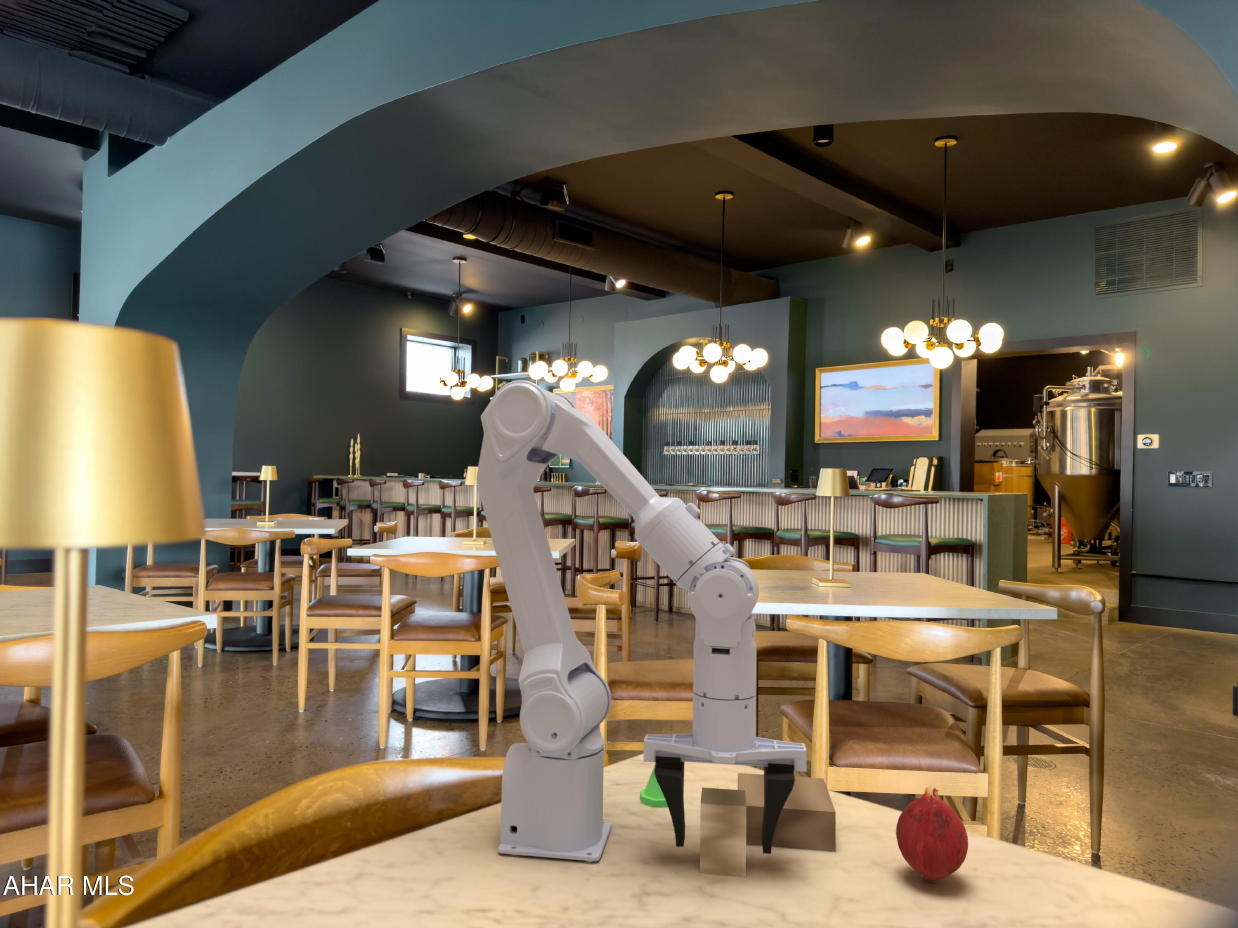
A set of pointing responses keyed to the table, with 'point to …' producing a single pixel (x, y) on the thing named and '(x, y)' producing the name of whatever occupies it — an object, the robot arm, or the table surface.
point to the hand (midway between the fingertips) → (723, 845)
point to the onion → (932, 837)
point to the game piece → (653, 793)
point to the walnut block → (792, 814)
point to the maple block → (723, 832)
